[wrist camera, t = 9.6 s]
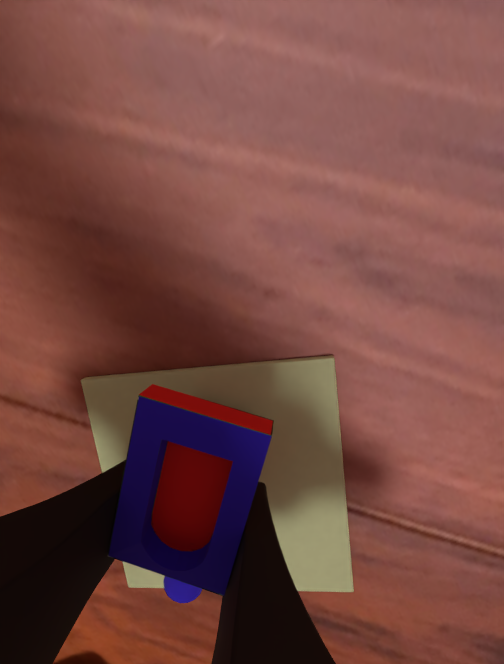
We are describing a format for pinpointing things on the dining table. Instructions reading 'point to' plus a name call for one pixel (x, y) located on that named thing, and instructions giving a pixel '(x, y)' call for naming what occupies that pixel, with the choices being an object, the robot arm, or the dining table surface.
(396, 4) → the dining table surface
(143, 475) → the toy building block
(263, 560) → the robot arm
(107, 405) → the mat
